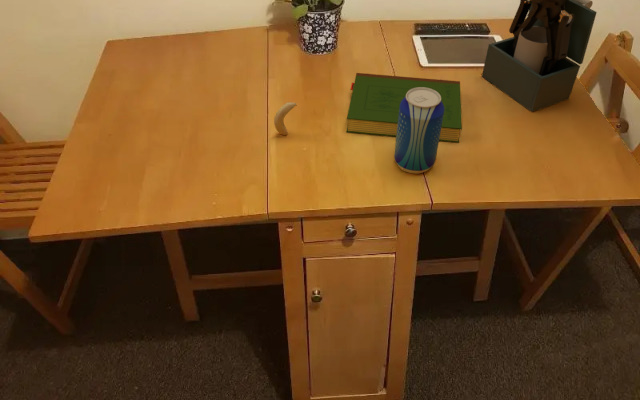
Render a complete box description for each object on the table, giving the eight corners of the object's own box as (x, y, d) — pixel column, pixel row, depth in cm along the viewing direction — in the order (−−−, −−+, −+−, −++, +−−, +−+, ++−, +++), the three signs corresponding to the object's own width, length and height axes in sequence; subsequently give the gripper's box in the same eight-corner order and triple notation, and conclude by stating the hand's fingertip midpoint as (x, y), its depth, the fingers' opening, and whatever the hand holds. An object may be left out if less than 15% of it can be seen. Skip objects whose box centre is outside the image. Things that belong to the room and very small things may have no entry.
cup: (539, 86, 133) (551, 47, 127) (505, 76, 137) (515, 37, 130) (551, 70, 139) (563, 31, 132) (517, 61, 142) (527, 22, 135)
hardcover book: (457, 95, 138) (459, 81, 135) (458, 142, 124) (461, 128, 122) (352, 86, 141) (353, 72, 138) (342, 131, 127) (343, 117, 125)
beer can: (395, 147, 123) (403, 82, 112) (435, 152, 122) (447, 87, 111) (391, 173, 117) (398, 106, 106) (433, 178, 116) (445, 111, 105)
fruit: (269, 130, 126) (270, 135, 125) (278, 100, 120) (280, 106, 119) (286, 131, 127) (288, 137, 126) (296, 102, 121) (298, 107, 120)
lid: (594, 13, 121) (614, 4, 123) (534, -18, 133) (553, -25, 134) (579, 64, 130) (598, 56, 132) (524, 31, 142) (543, 24, 143)
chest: (531, 112, 133) (541, 78, 127) (481, 76, 144) (488, 44, 138) (568, 99, 137) (580, 65, 131) (517, 65, 148) (525, 33, 142)
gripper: (506, -36, 128) (486, 56, 143) (580, 0, 114) (549, 98, 129) (532, -43, 130) (510, 49, 146) (607, -8, 116) (573, 90, 132)
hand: (528, 72), depth 137 cm, fingers closed on cup, 8 cm apart
